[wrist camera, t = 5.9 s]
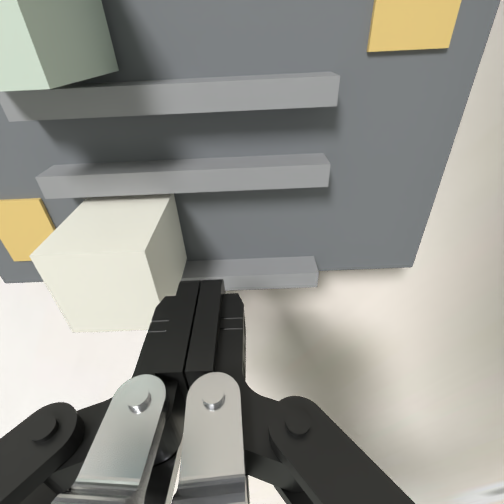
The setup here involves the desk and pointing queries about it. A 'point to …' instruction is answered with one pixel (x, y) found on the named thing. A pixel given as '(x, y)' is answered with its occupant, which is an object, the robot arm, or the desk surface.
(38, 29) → the pale green block
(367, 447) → the desk surface
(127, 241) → the cream tab
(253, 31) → the switch panel
